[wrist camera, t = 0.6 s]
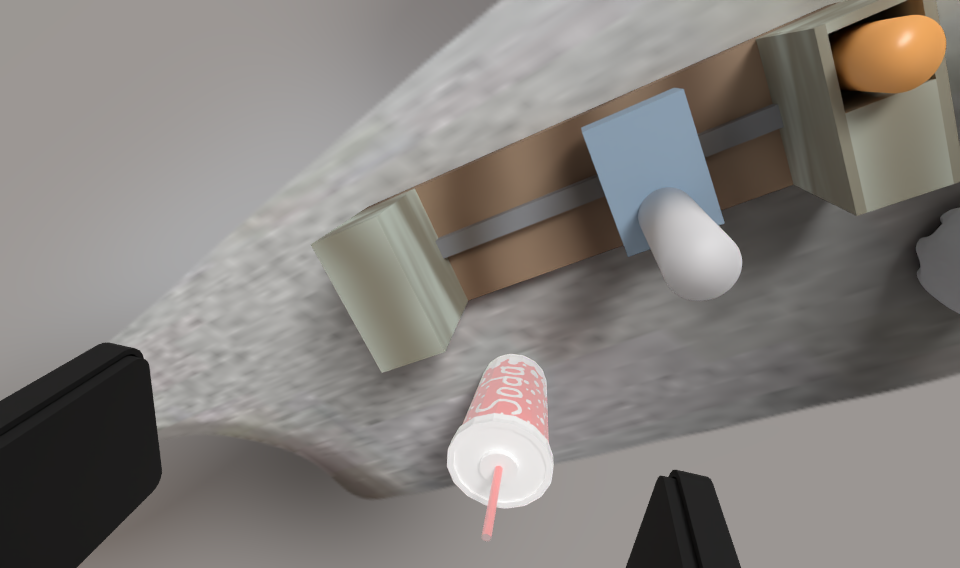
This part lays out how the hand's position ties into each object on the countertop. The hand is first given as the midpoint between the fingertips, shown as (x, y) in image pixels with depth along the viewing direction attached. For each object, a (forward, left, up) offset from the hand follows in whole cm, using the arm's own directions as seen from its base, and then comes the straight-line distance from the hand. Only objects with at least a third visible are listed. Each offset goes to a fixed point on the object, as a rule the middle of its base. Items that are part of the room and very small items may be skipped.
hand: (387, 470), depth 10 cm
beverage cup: (+6, +13, -26) cm, 29 cm away
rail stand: (-4, +1, -26) cm, 26 cm away
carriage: (-7, +1, -23) cm, 24 cm away
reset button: (-16, -1, -20) cm, 26 cm away
